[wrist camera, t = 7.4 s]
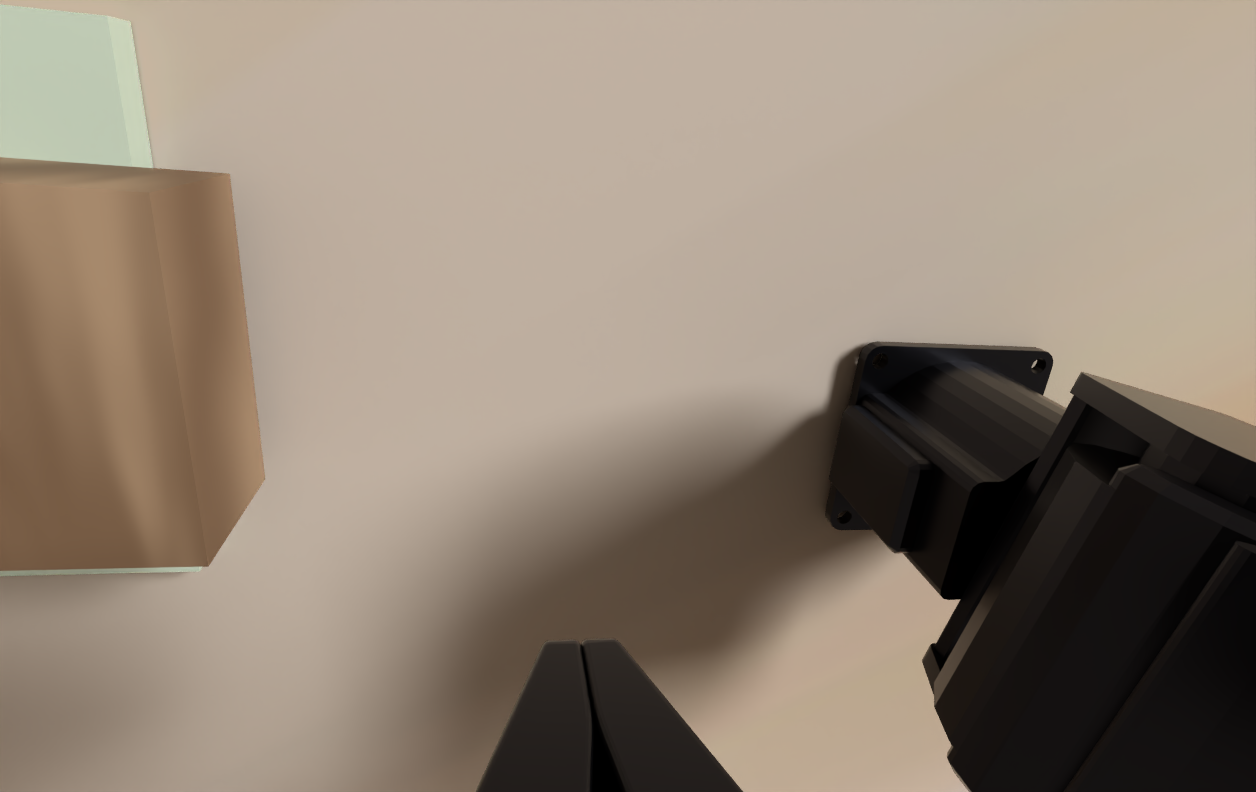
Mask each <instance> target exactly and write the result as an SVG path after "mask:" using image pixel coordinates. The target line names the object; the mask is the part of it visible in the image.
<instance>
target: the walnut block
mask: <svg viewBox="0 0 1256 792" xmlns="http://www.w3.org/2000/svg"><path fill="white" fill-rule="evenodd" d="M264 480H265V473H264V465H263V456H262V448H261V439H260V430H259V422H258V413H257V405H256V396H255V387H254V379H253V370H252V362H251V353H250V345H249V336H248V327H247V319H246V310H245V302H244V293H243V284H242V276H241V267H240V259H239V250H238V242H237V233H236V224H235V216H234V207H233V199H232V190H231V181H230V174H226V173H212V172H198V171H185V170H171V169H157V168H143V167H129V166H115V165H102V164H88V163H74V162H60V161H46V160H32V159H19V158H5V157H0V571H21V570H68V569H114V568H160V567H207V566H209V565H210V563H211V562H212V560H213V558H214V557H215V555H216V554H217V552H218V551H219V549H220V548H221V546H222V545H223V543H224V542H225V540H226V538H227V537H228V535H229V534H230V532H231V531H232V529H233V528H234V526H235V525H236V523H237V522H238V520H239V518H240V517H241V515H242V514H243V512H244V511H245V509H246V508H247V506H248V505H249V503H250V502H251V500H252V498H253V497H254V495H255V494H256V492H257V491H258V489H259V488H260V486H261V485H262V483H263V482H264Z"/></svg>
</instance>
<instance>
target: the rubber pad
mask: <svg viewBox="0 0 1256 792" xmlns="http://www.w3.org/2000/svg"><path fill="white" fill-rule="evenodd" d="M0 157H5V158H19V159H32V160H46V161H60V162H74V163H88V164H102V165H115V166H129V167H143V168H153V162H152V156H151V150H150V143H149V137H148V130H147V124H146V118H145V111H144V105H143V98H142V92H141V86H140V79H139V73H138V66H137V60H136V54H135V47H134V41H133V35H132V28H131V22H130V21H127V20H123V19H119V18H114V17H110V16H104V15H95V14H85V13H76V12H66V11H57V10H47V9H38V8H28V7H19V6H9V5H0ZM201 569H202V567H160V568H114V569H68V570H21V571H0V576H31V575H73V574H114V573H155V572H196V571H200V570H201Z"/></svg>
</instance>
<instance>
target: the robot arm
mask: <svg viewBox="0 0 1256 792" xmlns="http://www.w3.org/2000/svg"><path fill="white" fill-rule="evenodd" d="M881 353H882V358H881V360H880V361H879V362H878V363H877V364H874V365H873V362H872V361H873V359H874V357H875V356H876V355H878V354H881ZM1036 360H1037V363H1036V365H1035V366H1034V367H1033V368H1032V369H1031V367H1032V364H1033V362H1034V361H1036ZM1052 366H1053V358H1052V356H1051V355H1050V354H1049V353H1048V352H1046V351H1044V350H1042V349H1039V348H1036V347H1013V346H985V345H957V344H930V343H902V342H872V343H870V344H868V345H866V346H865V347H864V348H863V350H862V351H861V353H860V356H859V359H858V364H857V368H856V373H855V378H854V382H853V387H852V391H851V396H850V401H849V405H848V407H847V408H846V409H845V411H844V412H843V415H842V420H841V424H840V429H839V434H838V438H837V443H836V448H835V452H834V457H833V462H832V466H831V471H830V475H829V480H830V481H831V482H832V483H831V488H830V493H829V497H828V502H827V506H826V511H825V516H826V518H827V520H828V521H829V523H830V524H831V525H832V526H833V527H834V528H835V529H838V530H873V531H874V532H875V533H876V534H877V535H878V536H879V537H880V539H881V540H882V541H883V542H884V543H885V544H886V545H887V547H888V548H889V549H890V550H891V551H892V552H894V553H903V554H904V555H905V556H906V557H907V559H908V560H909V561H910V562H911V563H912V564H913V565H914V566H915V567H916V569H917V570H918V571H919V572H920V573H921V574H922V575H923V576H924V578H925V579H926V580H927V581H928V582H929V583H930V584H931V585H932V586H933V588H934V589H935V590H936V591H937V592H938V593H939V594H940V595H941V596H942V598H943V599H947V600H955V599H961V600H960V601H959V603H958V605H957V607H956V609H955V610H954V612H953V614H952V616H951V618H950V619H949V621H948V623H947V625H946V627H945V628H944V630H943V632H942V634H941V636H940V637H939V639H938V641H937V643H936V644H935V643H933V644H931V645H930V647H929V648H928V650H927V652H926V654H925V656H924V658H923V659H922V663H923V665H924V668H925V671H926V674H927V677H928V680H929V683H930V685H931V688H932V691H933V694H934V707H935V709H936V712H937V714H938V716H939V718H940V721H941V723H942V725H943V728H944V730H945V732H946V734H947V737H948V739H949V741H950V742H951V745H952V746H951V748H950V750H949V751H948V753H947V758H948V761H949V763H950V765H951V767H952V769H953V771H954V773H955V774H956V776H957V777H958V778H959V779H960V781H961V782H962V783H963V785H964V786H965V787H966V789H967V790H968V791H969V792H1256V426H1253V425H1251V424H1248V423H1246V422H1243V421H1241V420H1238V419H1236V418H1233V417H1231V416H1228V415H1225V414H1222V413H1219V412H1216V411H1213V410H1209V409H1206V408H1203V407H1199V406H1196V405H1192V404H1189V403H1186V402H1182V401H1179V400H1175V399H1172V398H1169V397H1165V396H1162V395H1159V394H1155V393H1152V392H1148V391H1145V390H1142V389H1138V388H1135V387H1132V386H1128V385H1125V384H1121V383H1118V382H1115V381H1111V380H1108V379H1104V378H1101V377H1098V376H1094V375H1091V374H1088V373H1084V372H1081V373H1080V375H1079V377H1078V379H1077V381H1076V382H1075V384H1074V386H1073V388H1072V390H1071V391H1070V393H1072V394H1073V395H1074V396H1073V398H1072V400H1071V401H1070V403H1069V405H1068V407H1067V408H1065V407H1063V406H1061V405H1059V404H1058V403H1056V402H1054V401H1052V400H1050V399H1048V398H1046V397H1044V396H1043V394H1044V391H1045V388H1046V385H1047V382H1048V379H1049V375H1050V372H1051V369H1052ZM842 511H846V512H845V514H844V515H843V516H842V517H838V515H839V514H840V513H841V512H842ZM476 792H743V791H742V790H741V789H740V787H739V786H738V785H737V784H736V783H735V781H734V780H733V779H732V778H731V776H730V775H729V774H728V773H727V772H726V770H725V769H724V768H723V767H722V766H721V764H720V763H719V762H718V761H717V760H716V758H715V757H714V756H713V755H712V753H711V752H710V751H709V750H708V749H707V747H706V746H705V745H704V744H703V743H702V741H701V740H700V739H699V738H698V737H697V735H696V734H695V733H694V732H693V731H692V729H691V728H690V727H689V726H688V724H687V723H686V722H685V721H684V720H683V718H682V717H681V716H680V715H679V714H678V712H677V711H676V710H675V709H674V708H673V706H672V705H671V704H670V703H669V701H668V700H667V699H666V698H665V697H664V695H663V694H662V693H661V692H660V691H659V689H658V688H657V687H656V686H655V685H654V683H653V682H652V681H651V680H650V679H649V677H648V676H647V675H646V674H645V672H644V671H643V670H642V669H641V668H640V666H639V665H638V664H637V663H636V662H635V660H634V659H633V658H632V657H631V656H630V654H629V653H628V652H627V651H626V649H625V648H624V647H623V646H622V645H621V643H620V642H619V641H618V640H616V639H614V638H599V639H585V640H584V641H582V643H581V645H580V643H579V642H578V641H577V640H574V639H573V640H549V641H546V642H545V643H544V644H543V645H542V647H541V649H540V651H539V654H538V656H537V658H536V660H535V662H534V665H533V667H532V669H531V671H530V673H529V676H528V678H527V680H526V682H525V684H524V687H523V689H522V691H521V693H520V695H519V697H518V700H517V702H516V704H515V706H514V708H513V711H512V713H511V715H510V717H509V719H508V722H507V724H506V726H505V728H504V730H503V733H502V735H501V737H500V739H499V741H498V743H497V746H496V748H495V750H494V752H493V754H492V757H491V759H490V761H489V763H488V765H487V768H486V770H485V772H484V774H483V776H482V779H481V781H480V783H479V785H478V787H477V790H476Z"/></svg>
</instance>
